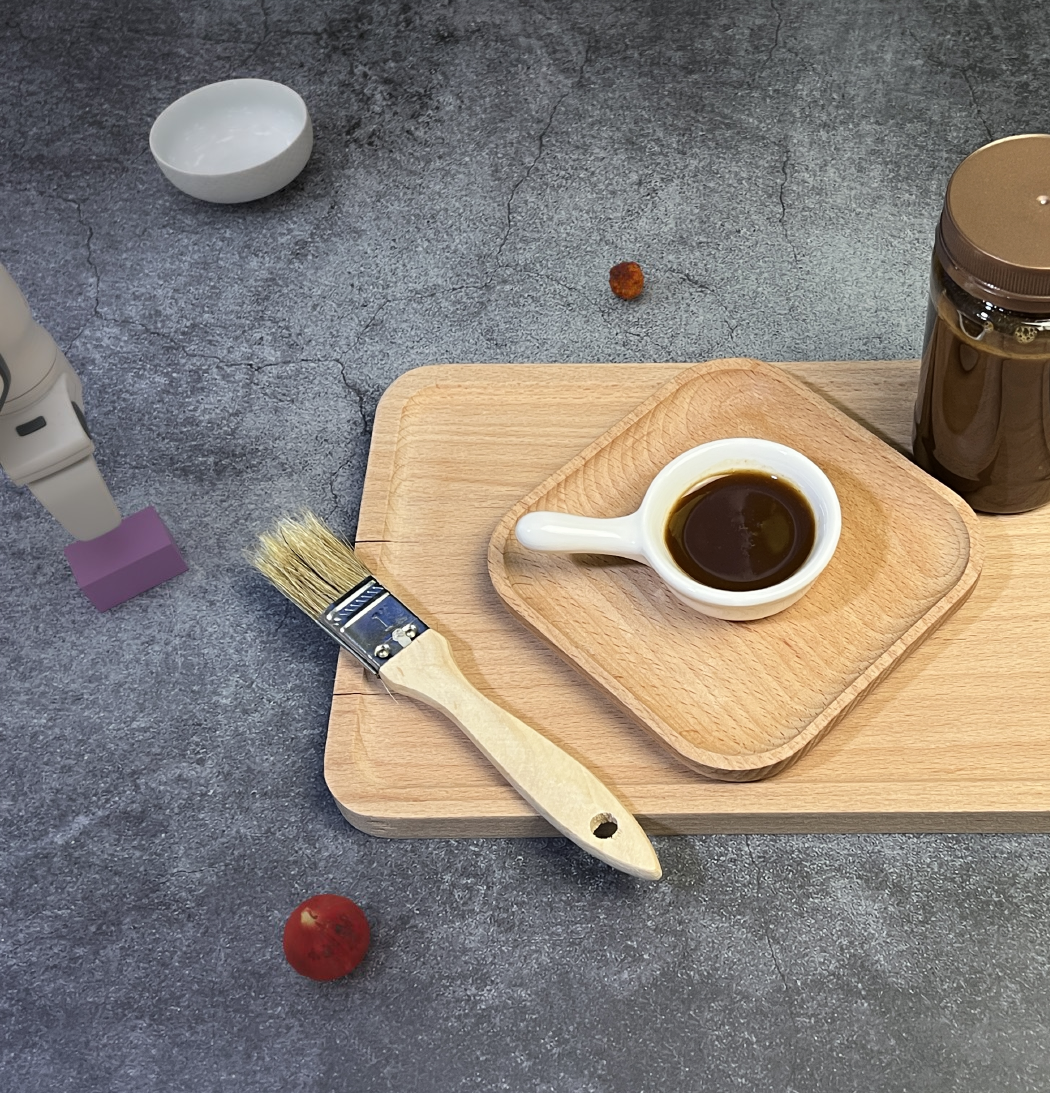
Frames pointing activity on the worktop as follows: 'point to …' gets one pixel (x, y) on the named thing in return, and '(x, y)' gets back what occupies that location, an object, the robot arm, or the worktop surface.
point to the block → (125, 560)
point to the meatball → (626, 279)
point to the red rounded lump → (326, 937)
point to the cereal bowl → (233, 140)
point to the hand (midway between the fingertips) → (94, 493)
